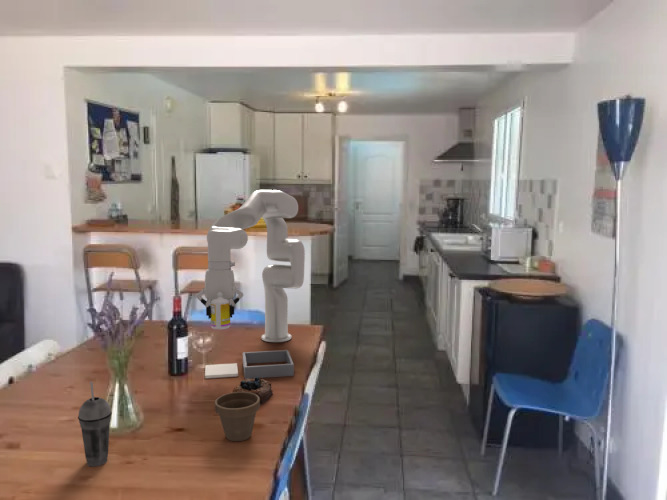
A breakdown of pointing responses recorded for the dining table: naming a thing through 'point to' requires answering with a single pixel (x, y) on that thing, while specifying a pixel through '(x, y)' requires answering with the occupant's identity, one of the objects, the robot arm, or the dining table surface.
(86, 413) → the beverage cup
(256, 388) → the pastry
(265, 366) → the bin
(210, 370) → the tile
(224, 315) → the supplement bottle
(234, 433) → the flower pot
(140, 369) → the dining table surface
